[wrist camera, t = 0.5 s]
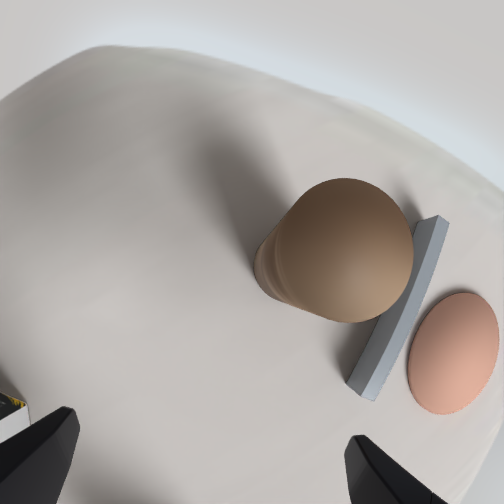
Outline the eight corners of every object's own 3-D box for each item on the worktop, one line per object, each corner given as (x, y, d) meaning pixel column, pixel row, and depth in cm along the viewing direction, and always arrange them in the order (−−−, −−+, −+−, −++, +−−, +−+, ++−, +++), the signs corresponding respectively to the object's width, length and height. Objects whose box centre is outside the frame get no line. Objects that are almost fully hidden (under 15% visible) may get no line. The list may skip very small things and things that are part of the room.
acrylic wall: (358, 389, 22) (373, 401, 19) (345, 384, 22) (360, 396, 19) (428, 229, 24) (449, 223, 21) (417, 221, 23) (438, 214, 20)
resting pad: (448, 431, 22) (451, 433, 21) (384, 372, 22) (387, 373, 22) (508, 338, 23) (512, 339, 23) (457, 266, 23) (461, 266, 23)
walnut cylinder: (324, 300, 22) (415, 315, 10) (254, 303, 22) (282, 328, 10) (321, 230, 23) (406, 182, 11) (252, 231, 23) (277, 176, 11)
